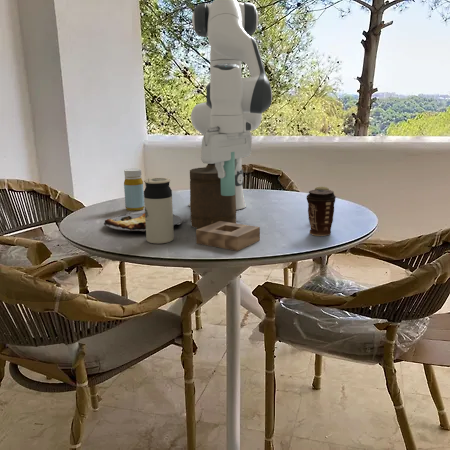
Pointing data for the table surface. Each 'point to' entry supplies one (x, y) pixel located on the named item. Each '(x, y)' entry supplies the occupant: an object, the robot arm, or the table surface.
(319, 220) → the coffee cup
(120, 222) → the food plate
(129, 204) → the bottle
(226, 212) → the wooden container
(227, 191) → the peg
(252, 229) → the socket block
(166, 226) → the travel mug
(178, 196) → the table surface
